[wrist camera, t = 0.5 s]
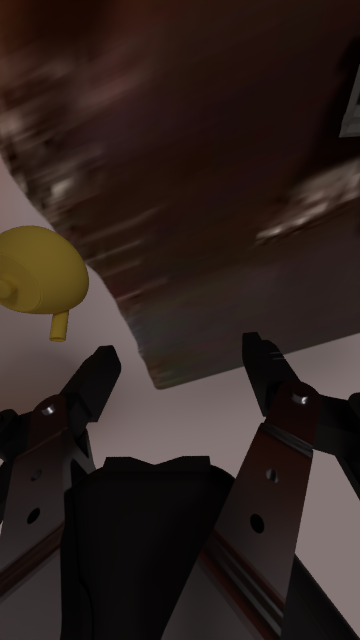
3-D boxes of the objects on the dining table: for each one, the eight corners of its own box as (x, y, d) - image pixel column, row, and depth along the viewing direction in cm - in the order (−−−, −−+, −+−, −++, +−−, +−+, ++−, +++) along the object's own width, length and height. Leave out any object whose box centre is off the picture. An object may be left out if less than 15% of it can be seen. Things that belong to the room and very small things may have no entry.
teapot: (117, 312, 41) (86, 349, 29) (58, 323, 44) (8, 361, 32) (75, 216, 32) (5, 211, 20) (4, 236, 35) (-95, 243, 23)
